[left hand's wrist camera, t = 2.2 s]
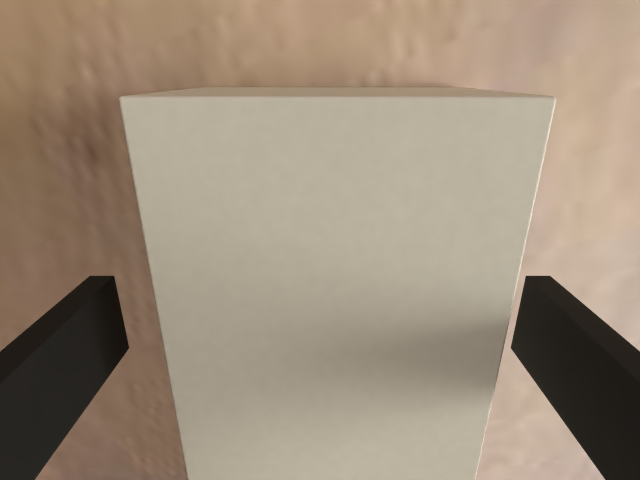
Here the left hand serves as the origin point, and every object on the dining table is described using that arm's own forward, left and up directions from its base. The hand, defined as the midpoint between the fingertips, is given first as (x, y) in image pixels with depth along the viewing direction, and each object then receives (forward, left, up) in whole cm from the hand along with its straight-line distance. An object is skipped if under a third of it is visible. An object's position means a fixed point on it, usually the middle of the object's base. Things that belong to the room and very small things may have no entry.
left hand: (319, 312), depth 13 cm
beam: (+24, +5, -4) cm, 25 cm away
